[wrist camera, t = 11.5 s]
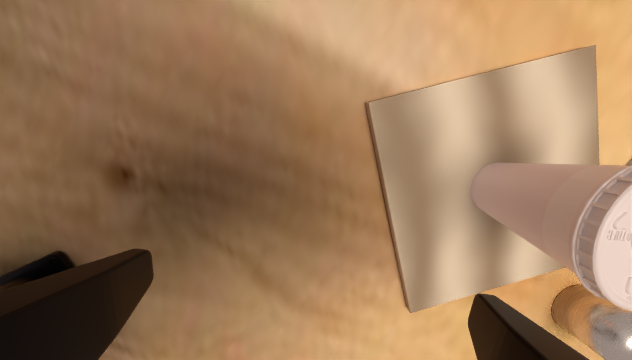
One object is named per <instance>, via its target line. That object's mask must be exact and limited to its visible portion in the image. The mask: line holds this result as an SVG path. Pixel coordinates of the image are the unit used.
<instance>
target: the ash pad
mask: <svg viewBox="0 0 632 360" xmlns="http://www.w3.org/2000/svg"><path fill="white" fill-rule="evenodd" d="M365 105H366V110H367V115H368V120H369V125H370V130H371V135H372V140H373V145H374V149H375V154H376V159H377V164H378V169H379V174H380V179H381V184H382V189H383V194H384V199H385V204H386V209H387V214H388V219H389V224H390V229H391V233H392V238H393V243H394V248H395V253H396V258H397V263H398V268H399V273H400V278H401V283H402V288H403V293H404V298H405V303H406V307H407V308H408V310H409V312H410V313H413V312H416V311H420V310H423V309H426V308H430V307H433V306H436V305H440V304H443V303H447V302H450V301H453V300H457V299H460V298H464V297H467V296H470V295H474V294H477V293H480V292H484V291H487V290H491V289H494V288H497V287H501V286H504V285H507V284H511V283H514V282H518V281H521V280H524V279H528V278H531V277H534V276H538V275H541V274H545V273H548V272H551V271H555V270H558V269H562V268H565V266H563V265H561V264H560V263H558V262H557V261H556V260H554V259H553V258H551V257H550V256H548V255H547V254H546V253H544V252H543V251H541V250H540V249H538V248H537V247H535V246H534V245H532V244H531V243H529V242H528V241H526V240H525V239H523V238H522V237H520V236H519V235H517V234H516V233H514V232H513V231H511V230H510V229H509V228H507V227H506V226H504V225H503V224H501V223H500V222H498V221H497V220H495V219H494V218H492V217H491V216H489V215H488V214H486V213H485V212H483V211H482V210H480V209H479V208H478V207H477V206H476V205H475V204H474V202H473V200H472V196H471V186H472V182H473V180H474V178H475V176H476V175H477V173H478V172H479V171H480V170H481V169H482V168H484V167H485V166H487V165H489V164H492V163H498V162H501V163H540V164H578V165H599V135H598V103H597V71H596V45H593V46H589V47H585V48H581V49H577V50H573V51H569V52H565V53H561V54H557V55H553V56H549V57H545V58H541V59H537V60H534V61H530V62H526V63H522V64H518V65H514V66H510V67H506V68H502V69H498V70H494V71H490V72H486V73H482V74H478V75H474V76H470V77H466V78H462V79H459V80H455V81H451V82H447V83H443V84H439V85H435V86H431V87H427V88H423V89H419V90H415V91H411V92H407V93H403V94H399V95H395V96H391V97H387V98H384V99H380V100H376V101H372V102H368V103H365Z"/></svg>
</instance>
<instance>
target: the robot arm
mask: <svg viewBox="0 0 632 360" xmlns="http://www.w3.org/2000/svg"><path fill="white" fill-rule="evenodd" d="M54 258H56V259H57V261H58V262H56V261H55V260H54ZM152 280H153V265H152V256H151V253H150V251H148V250H143V249H131V250H128V251H125V252H122V253H119V254H116V255H113V256H109V257H106V258H103V259H100V260H97V261H94V262H91V263H87V264H84V265H81V266H78V267H75V268H74V267H73V266H72V264H71V263H70V262H69V260H68V259H67V257H66V256H65V255H64V254H63V253H61V252H53V253H51V254H49V255H47V256H44V257H42V258H40V259H38V260H36V261H33V262H31V263H29V264H27V265H25V266H22V267H20V268H18V269H16V270H14V271H12V272H9V273H7V274H5V275H3V276H1V277H0V360H98V359H99V358H100V357H101V355H102V354H103V353H104V352H105V350H106V349H107V348H108V346H109V345H110V344H111V343H112V341H113V340H114V339H115V337H116V336H117V335H118V333H119V332H120V330H121V329H122V328H123V326H124V325H125V323H126V322H127V320H128V319H129V317H130V315H131V314H132V312H133V311H134V309H135V308H136V306H137V305H138V303H139V302H140V300H141V299H142V297H143V295H144V294H145V292H146V291H147V289H148V288H149V286H150V285H151V283H152ZM468 328H469V331H470V335H471V339H472V342H473V346H474V349H475V353H476V356H477V360H589V359H588V358H586V357H585V356H583V355H582V354H580V353H579V352H577V351H576V350H574V349H573V348H571V347H570V346H568V345H567V344H565V343H564V342H562V341H561V340H559V339H558V338H556V337H555V336H554V335H552V334H551V333H549V332H548V331H546V330H545V329H543V328H542V327H540V326H539V325H537V324H536V323H534V322H533V321H531V320H530V319H528V318H527V317H525V316H524V315H522V314H521V313H519V312H518V311H517V310H515V309H514V308H512V307H511V306H509V305H508V304H506V303H505V302H503V301H502V300H500V299H499V298H497V297H496V296H494V295H488V294H480V293H479V294H477V295H476V296H475V297H474V300H473V304H472V307H471V311H470V314H469V318H468Z"/></svg>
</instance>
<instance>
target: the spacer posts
mask: <svg viewBox="0 0 632 360" xmlns="http://www.w3.org/2000/svg"><path fill="white" fill-rule="evenodd" d="M551 312H552V317H553V320H554V321H555V322H556V323H557V324H558V325H559V326H561V327H562V328H563V329H565V330H566V331H568V332H569V333H570V334H572V335H573V336H574V337H576V338H577V339H578V340H580V341H581V342H582V343H584V344H585V345H586V346H588V347H589V348H590V349H592V350H593V351H594V352H596V353H597V354H598V355H600V356H601V357H603V358H604V359H605V360H632V311H630V310H626V309H623V308H621V307H618V306H616V305H615V304H613V303H611V302H609V301H607V300H605V299H603V298H600V297H597V296H595V295H594V294H592V293H591V292H590V291H589V290H587V289H586V288H585V287H584V286H583V285H573V286H570V287H568V288H566V289H564V290H563V291H562V292H561V293H560V294H559V295H558V296H557V297H556V299H555V300H554V302H553V305H552V310H551Z"/></svg>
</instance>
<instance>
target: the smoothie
mask: <svg viewBox="0 0 632 360" xmlns="http://www.w3.org/2000/svg"><path fill="white" fill-rule="evenodd" d="M471 196H472V200H473V202H474V204H475V205H476V206H477V207H478V208H479V209H480V210H482V211H483V212H485V213H486V214H488V215H489V216H491V217H492V218H494V219H495V220H497V221H498V222H500V223H501V224H503V225H504V226H506V227H507V228H509V229H510V230H511V231H513V232H514V233H516V234H517V235H519V236H520V237H522V238H523V239H525V240H526V241H528V242H529V243H531V244H532V245H534V246H535V247H537V248H538V249H540V250H541V251H543V252H544V253H546V254H547V255H548V256H550V257H551V258H553V259H554V260H556V261H557V262H558V263H560V264H561V265H563V266H565V267H566V268H568V269H569V270H571V271H572V272H574V273H575V274H576V275H577V277H578V279H579V280H580V282H581V283H582V285H583V286H584V287H585V288H586V289H587V290H589V291H590V292H591V293H592V294H594V295H595V296H597V297H600V298H603V299H605V300H607V301H609V302H611V303H613V304H615V305H616V306H618V307H621V308H623V309H626V310H630V311H632V165H631V166H620V165H578V164H540V163H501V162H498V163H492V164H489V165H487V166H485V167H484V168H482V169H481V170H480V171H479V172H478V173H477V175H476V176H475V178H474V180H473V182H472V186H471Z"/></svg>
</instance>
